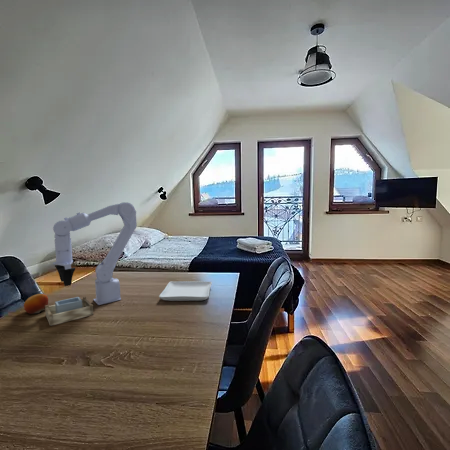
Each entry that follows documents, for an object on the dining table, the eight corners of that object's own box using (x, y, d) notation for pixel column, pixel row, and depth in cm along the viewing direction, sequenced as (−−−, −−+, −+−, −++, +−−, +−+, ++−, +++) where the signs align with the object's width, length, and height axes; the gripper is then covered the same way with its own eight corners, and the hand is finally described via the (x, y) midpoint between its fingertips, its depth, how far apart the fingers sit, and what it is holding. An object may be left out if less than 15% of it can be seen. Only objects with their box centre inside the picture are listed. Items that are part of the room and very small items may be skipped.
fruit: (40, 313, 103) (30, 294, 103) (26, 322, 105) (16, 304, 105) (57, 304, 111) (48, 287, 111) (44, 313, 112) (34, 296, 113)
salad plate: (208, 303, 114) (208, 295, 114) (158, 304, 115) (158, 296, 115) (212, 287, 136) (212, 280, 135) (169, 287, 136) (169, 281, 136)
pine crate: (86, 306, 112) (85, 296, 112) (93, 314, 104) (92, 304, 104) (45, 315, 104) (45, 305, 103) (50, 325, 95) (49, 314, 95)
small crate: (79, 308, 108) (78, 296, 108) (82, 313, 104) (81, 300, 104) (56, 314, 103) (55, 301, 103) (58, 319, 99) (57, 305, 99)
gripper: (49, 249, 113) (51, 281, 114) (54, 254, 102) (57, 289, 103) (68, 247, 117) (70, 278, 119) (76, 251, 106) (78, 285, 108)
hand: (65, 283), depth 111 cm, fingers open, 7 cm apart
